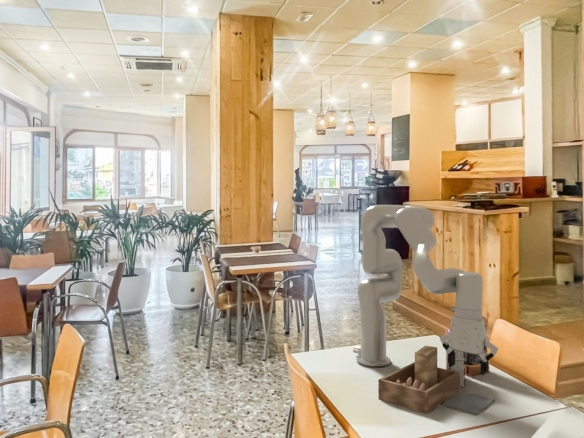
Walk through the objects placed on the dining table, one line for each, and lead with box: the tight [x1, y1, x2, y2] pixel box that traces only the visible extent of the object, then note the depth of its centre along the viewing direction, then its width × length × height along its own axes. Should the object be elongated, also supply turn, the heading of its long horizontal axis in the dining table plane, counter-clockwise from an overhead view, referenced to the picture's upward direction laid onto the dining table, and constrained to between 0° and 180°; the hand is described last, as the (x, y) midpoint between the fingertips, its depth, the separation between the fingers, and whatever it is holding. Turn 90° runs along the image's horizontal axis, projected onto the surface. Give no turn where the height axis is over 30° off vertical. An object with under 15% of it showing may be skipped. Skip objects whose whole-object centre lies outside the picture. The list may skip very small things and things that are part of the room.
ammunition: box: [396, 377, 425, 390], centre depth 143 cm, size 5×7×8 cm
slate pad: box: [442, 390, 496, 416], centre depth 138 cm, size 10×14×1 cm
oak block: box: [414, 345, 438, 391], centre depth 149 cm, size 4×10×13 cm, turn 145°
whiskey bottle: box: [453, 314, 490, 378], centre depth 166 cm, size 10×10×32 cm
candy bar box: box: [444, 329, 466, 388], centre depth 156 cm, size 11×5×16 cm, turn 168°
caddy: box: [377, 361, 461, 415], centre depth 144 cm, size 16×23×6 cm
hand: (467, 369), depth 138 cm, fingers open, 9 cm apart
